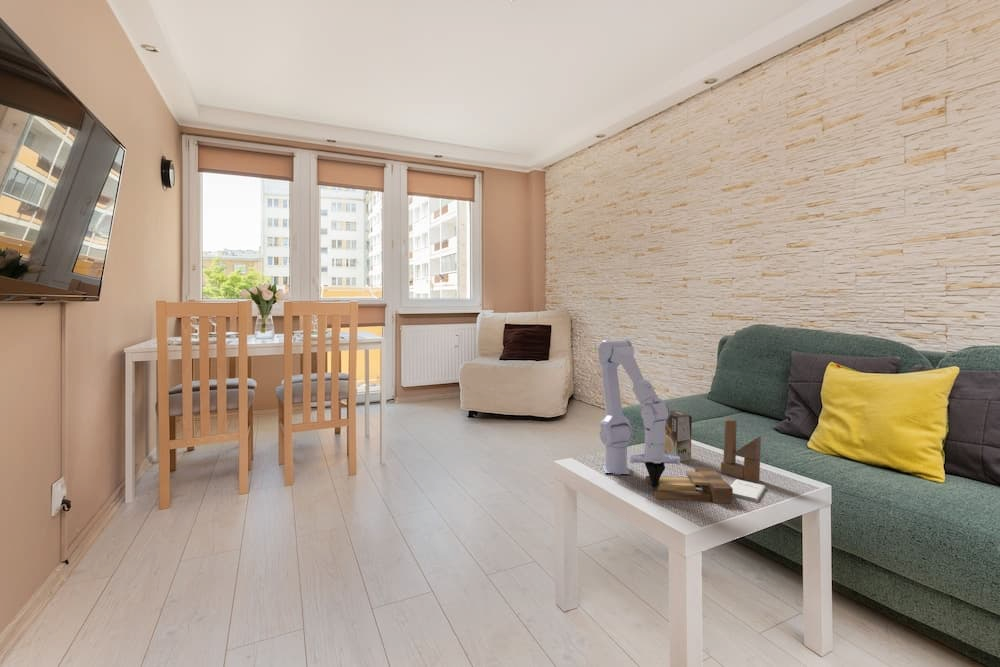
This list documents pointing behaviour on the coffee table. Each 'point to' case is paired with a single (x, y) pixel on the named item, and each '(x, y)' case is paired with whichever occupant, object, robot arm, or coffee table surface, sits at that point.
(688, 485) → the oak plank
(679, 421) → the coffee box
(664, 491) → the walnut dock
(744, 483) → the external hard drive
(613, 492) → the coffee table surface
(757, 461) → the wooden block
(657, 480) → the robot arm
